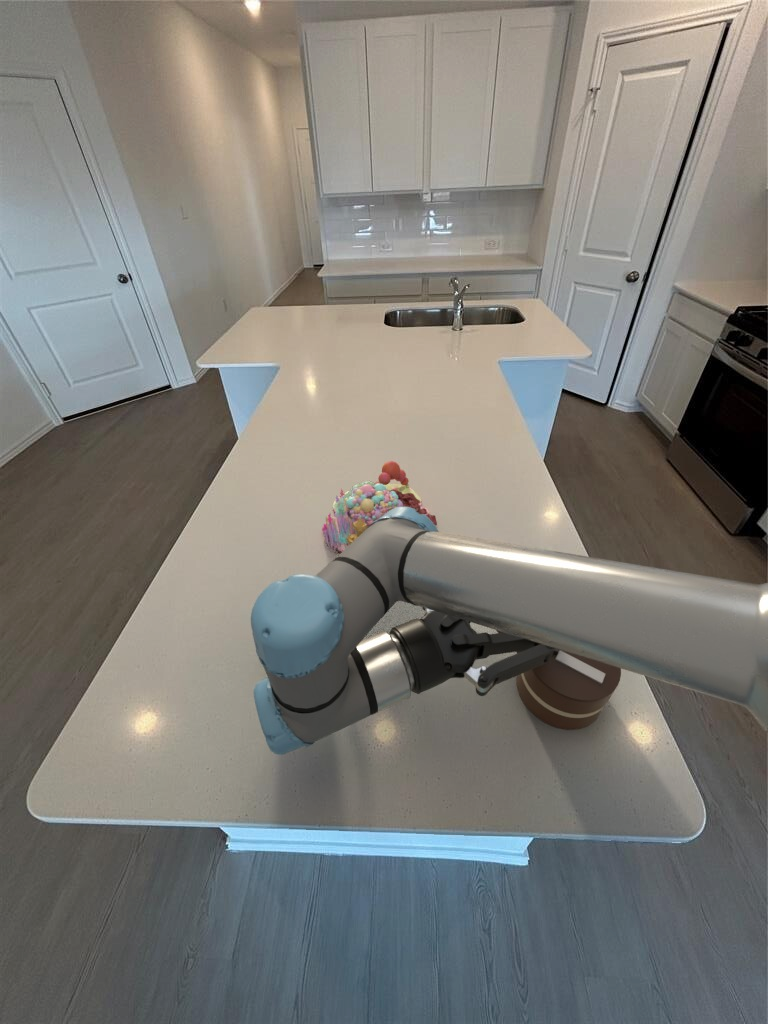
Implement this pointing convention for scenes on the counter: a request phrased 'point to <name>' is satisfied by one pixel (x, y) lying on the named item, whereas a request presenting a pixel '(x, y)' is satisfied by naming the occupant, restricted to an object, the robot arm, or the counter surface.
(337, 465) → the counter surface
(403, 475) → the candy landscape model
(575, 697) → the cake
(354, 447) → the counter surface
